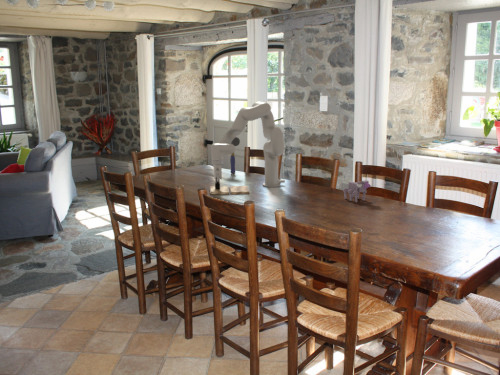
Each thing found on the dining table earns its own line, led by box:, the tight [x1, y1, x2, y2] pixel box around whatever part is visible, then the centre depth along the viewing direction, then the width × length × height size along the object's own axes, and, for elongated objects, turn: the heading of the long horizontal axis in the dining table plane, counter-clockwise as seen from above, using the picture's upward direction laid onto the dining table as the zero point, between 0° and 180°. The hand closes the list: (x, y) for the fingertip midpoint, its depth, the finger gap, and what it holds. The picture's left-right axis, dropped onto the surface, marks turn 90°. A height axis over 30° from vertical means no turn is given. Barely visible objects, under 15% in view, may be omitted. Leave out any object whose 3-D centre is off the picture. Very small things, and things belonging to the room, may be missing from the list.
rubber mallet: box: [229, 136, 241, 175], centre depth 392 cm, size 12×8×30 cm, turn 35°
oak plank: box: [209, 185, 230, 195], centre depth 333 cm, size 13×18×2 cm
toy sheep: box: [342, 179, 372, 203], centre depth 303 cm, size 20×11×14 cm, turn 32°
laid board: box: [228, 185, 250, 195], centre depth 335 cm, size 12×18×2 cm
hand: (217, 189), depth 333 cm, fingers closed
